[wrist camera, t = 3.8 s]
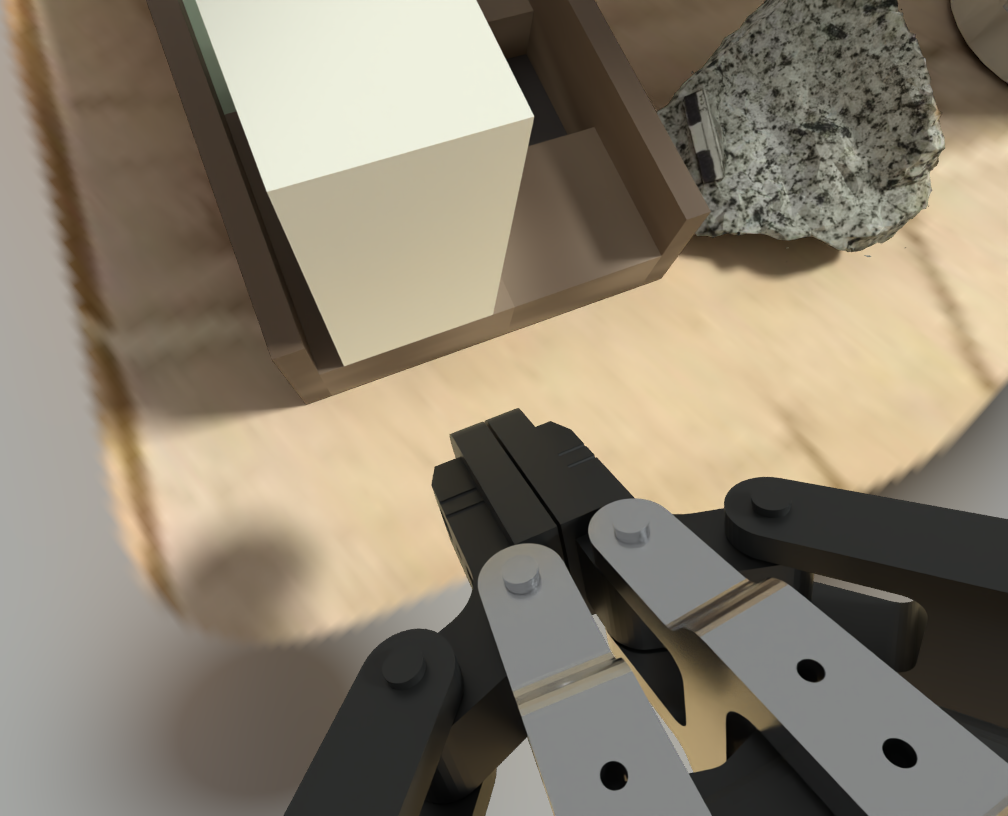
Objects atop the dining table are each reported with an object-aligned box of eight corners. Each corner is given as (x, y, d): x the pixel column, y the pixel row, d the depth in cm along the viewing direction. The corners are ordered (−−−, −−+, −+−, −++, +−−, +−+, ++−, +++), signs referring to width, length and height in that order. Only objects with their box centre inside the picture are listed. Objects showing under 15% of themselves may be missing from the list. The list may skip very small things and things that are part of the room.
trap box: (456, -118, 25) (460, -244, 21) (661, 278, 21) (711, 211, 17) (141, -57, 23) (80, -187, 19) (305, 405, 19) (271, 359, 15)
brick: (375, 49, 20) (336, -281, 12) (493, 314, 18) (533, 116, 10) (237, 83, 19) (103, -250, 11) (344, 366, 17) (266, 192, 9)
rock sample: (579, 22, 19) (916, -171, 14) (644, 48, 25) (893, -79, 20) (671, 337, 21) (986, 262, 17) (710, 290, 27) (947, 225, 23)
